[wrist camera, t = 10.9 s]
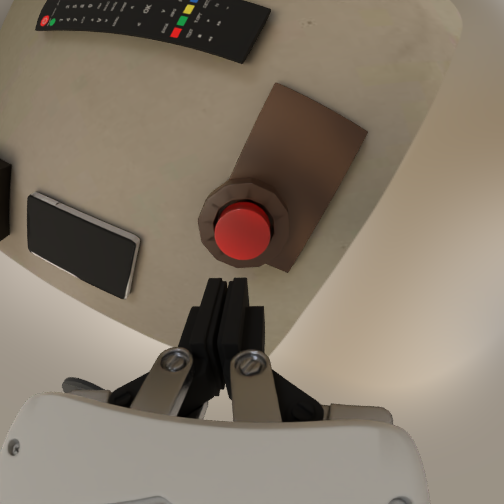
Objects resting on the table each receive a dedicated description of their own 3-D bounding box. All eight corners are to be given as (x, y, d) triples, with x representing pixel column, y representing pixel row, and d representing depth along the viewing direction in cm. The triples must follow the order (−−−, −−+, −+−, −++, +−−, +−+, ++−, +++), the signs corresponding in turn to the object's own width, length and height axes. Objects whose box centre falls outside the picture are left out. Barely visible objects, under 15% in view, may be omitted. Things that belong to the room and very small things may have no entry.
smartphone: (125, 302, 28) (27, 251, 25) (129, 295, 29) (33, 247, 26) (137, 240, 24) (27, 192, 22) (141, 235, 25) (34, 188, 23)
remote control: (243, 65, 18) (241, 62, 16) (40, 31, 14) (32, 30, 13) (270, 14, 15) (270, 9, 14) (59, -9, 12) (52, -12, 10)
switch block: (284, 270, 26) (286, 288, 23) (195, 232, 24) (187, 247, 22) (363, 130, 19) (376, 133, 17) (263, 79, 18) (263, 73, 15)
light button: (256, 256, 22) (256, 268, 21) (210, 237, 22) (206, 247, 20) (279, 214, 21) (280, 223, 19) (230, 192, 20) (226, 199, 18)
